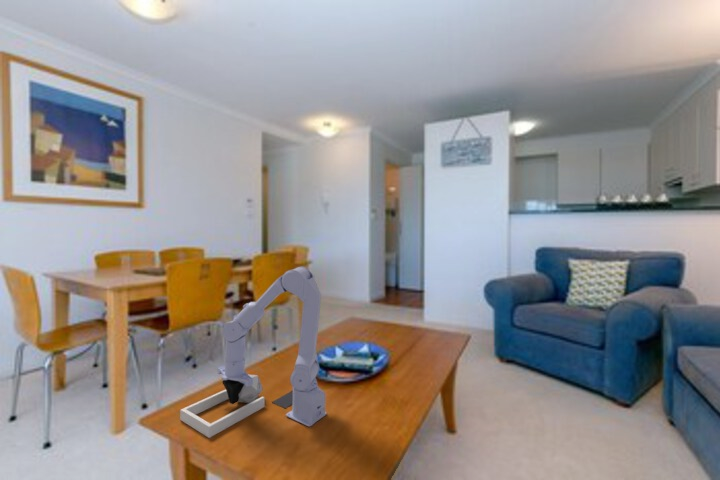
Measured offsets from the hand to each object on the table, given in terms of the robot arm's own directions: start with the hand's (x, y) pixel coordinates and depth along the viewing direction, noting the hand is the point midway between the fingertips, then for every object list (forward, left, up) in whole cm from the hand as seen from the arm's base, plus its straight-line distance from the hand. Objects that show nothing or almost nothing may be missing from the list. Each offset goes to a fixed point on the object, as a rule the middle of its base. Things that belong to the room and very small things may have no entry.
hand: (233, 402), depth 100 cm
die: (0, -5, -2) cm, 5 cm away
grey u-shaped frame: (0, +3, -2) cm, 4 cm away
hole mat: (-10, -14, -2) cm, 17 cm away
